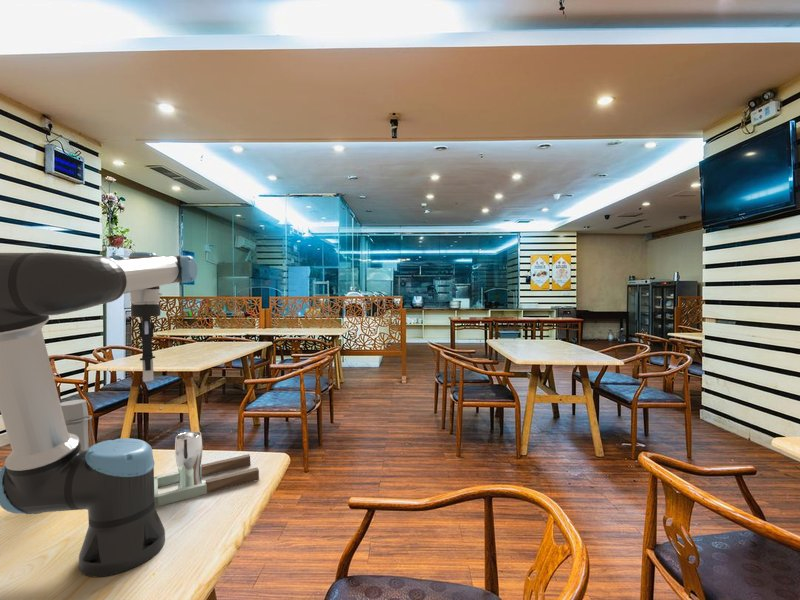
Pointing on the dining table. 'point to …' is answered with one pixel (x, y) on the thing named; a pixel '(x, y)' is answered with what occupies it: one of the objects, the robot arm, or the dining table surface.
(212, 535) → the dining table surface
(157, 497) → the pale green u-shaped frame
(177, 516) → the dining table surface
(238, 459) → the slot rails
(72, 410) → the water bottle
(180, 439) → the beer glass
